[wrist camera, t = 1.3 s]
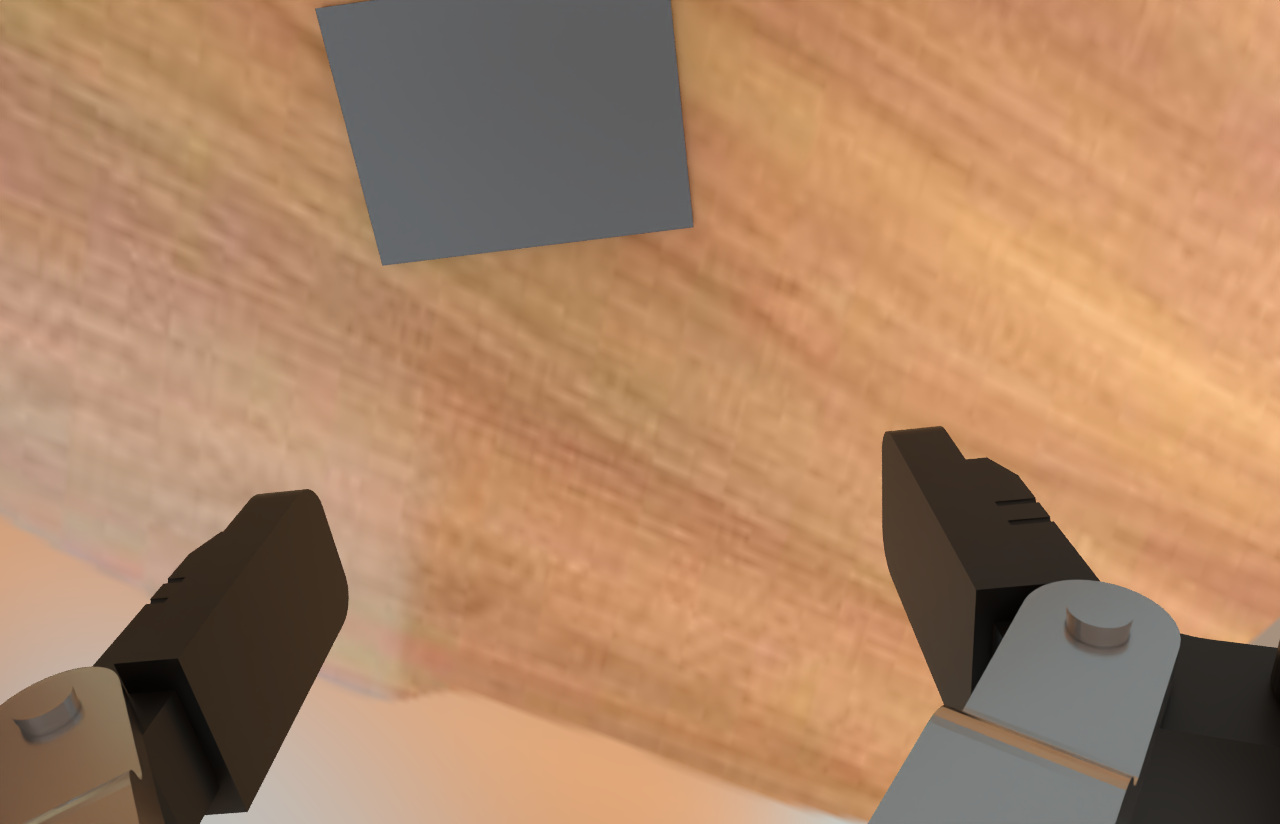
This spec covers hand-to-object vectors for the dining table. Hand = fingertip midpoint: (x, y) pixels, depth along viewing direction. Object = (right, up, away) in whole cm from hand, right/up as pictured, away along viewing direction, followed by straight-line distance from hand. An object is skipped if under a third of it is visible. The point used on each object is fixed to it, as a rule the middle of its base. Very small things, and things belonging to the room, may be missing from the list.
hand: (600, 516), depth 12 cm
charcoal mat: (-4, +12, +19) cm, 23 cm away
